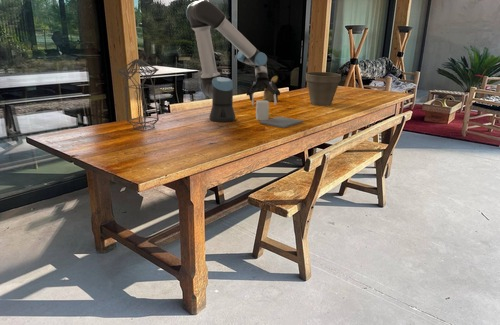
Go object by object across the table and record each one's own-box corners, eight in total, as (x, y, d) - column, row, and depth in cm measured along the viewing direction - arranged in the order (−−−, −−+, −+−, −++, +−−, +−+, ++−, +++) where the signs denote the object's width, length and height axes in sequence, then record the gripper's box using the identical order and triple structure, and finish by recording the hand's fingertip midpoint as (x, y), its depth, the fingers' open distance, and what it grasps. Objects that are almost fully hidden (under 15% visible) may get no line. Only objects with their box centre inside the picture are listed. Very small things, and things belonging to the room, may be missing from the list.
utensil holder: (280, 99, 297) (281, 75, 291) (269, 101, 287) (270, 77, 281) (271, 98, 302) (272, 74, 297) (260, 100, 293) (260, 75, 287)
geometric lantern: (143, 133, 192) (136, 60, 181) (121, 130, 200) (113, 59, 189) (165, 127, 205) (160, 58, 194) (144, 124, 213) (137, 57, 202)
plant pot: (341, 107, 271) (344, 76, 264) (306, 106, 271) (308, 75, 265) (334, 101, 295) (337, 72, 288) (302, 100, 295) (304, 71, 288)
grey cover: (268, 120, 228) (269, 102, 224) (257, 120, 227) (257, 102, 224) (266, 117, 234) (267, 100, 230) (255, 117, 233) (256, 100, 230)
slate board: (283, 128, 210) (283, 126, 210) (259, 123, 219) (259, 121, 219) (302, 122, 225) (303, 120, 225) (280, 118, 234) (280, 116, 234)
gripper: (280, 79, 244) (284, 107, 235) (240, 79, 241) (242, 108, 232) (282, 71, 238) (286, 100, 228) (241, 71, 235) (244, 100, 225)
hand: (264, 104), depth 230 cm, fingers open, 13 cm apart
